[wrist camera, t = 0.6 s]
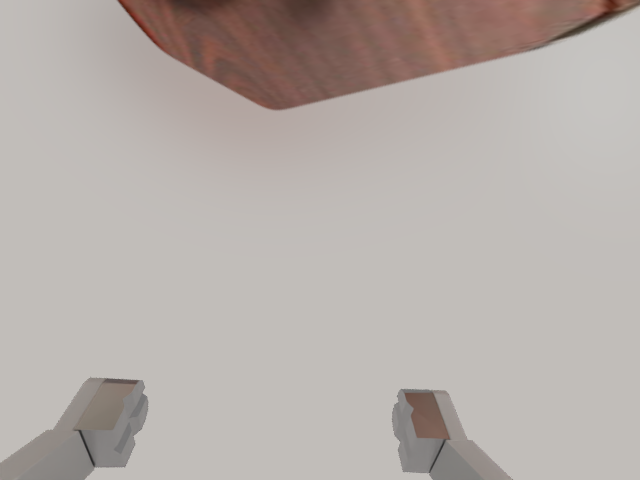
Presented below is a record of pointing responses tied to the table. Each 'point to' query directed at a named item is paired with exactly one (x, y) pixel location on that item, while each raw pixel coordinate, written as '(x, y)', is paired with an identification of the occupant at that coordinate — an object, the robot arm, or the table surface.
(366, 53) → the table surface
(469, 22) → the table surface
